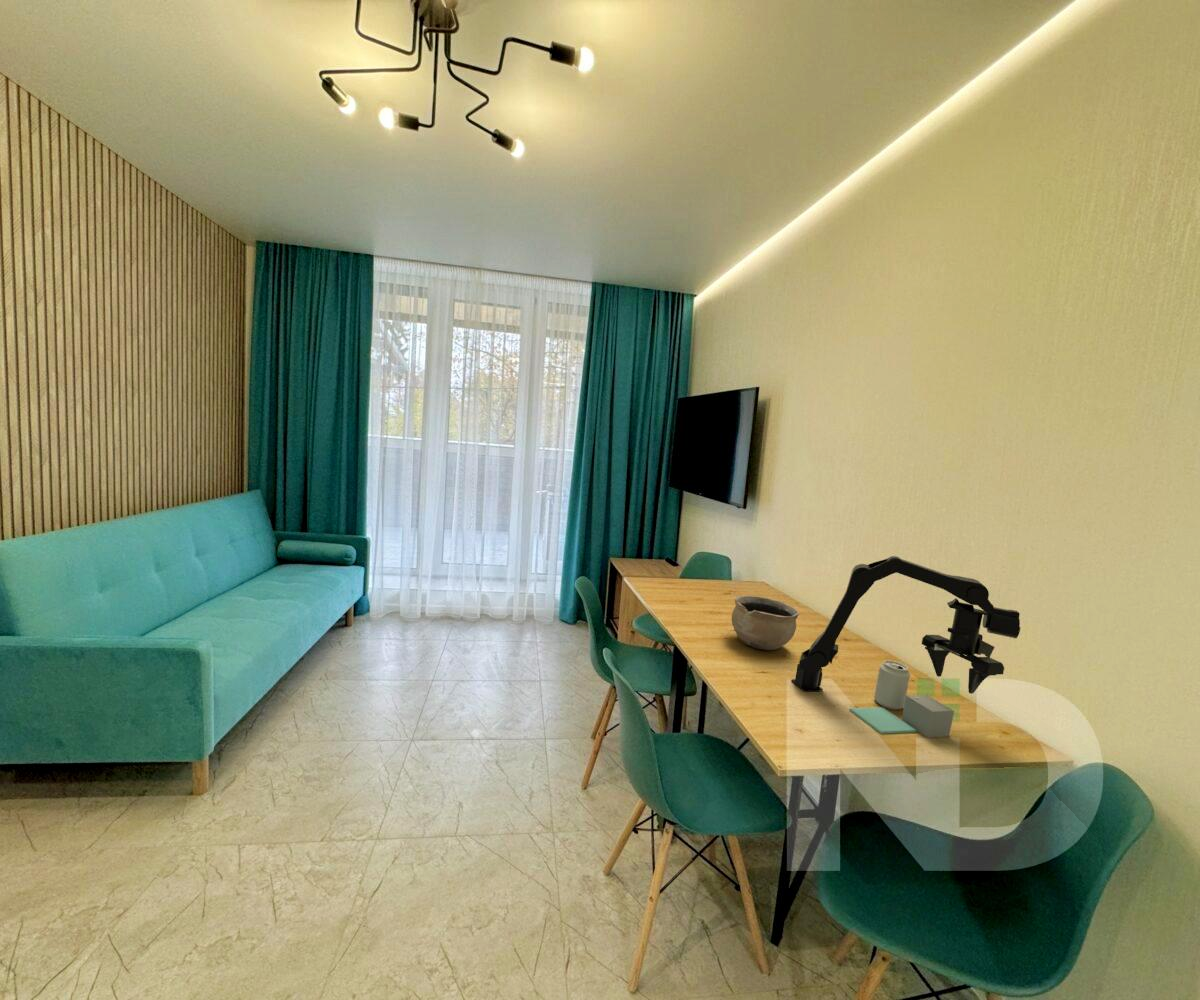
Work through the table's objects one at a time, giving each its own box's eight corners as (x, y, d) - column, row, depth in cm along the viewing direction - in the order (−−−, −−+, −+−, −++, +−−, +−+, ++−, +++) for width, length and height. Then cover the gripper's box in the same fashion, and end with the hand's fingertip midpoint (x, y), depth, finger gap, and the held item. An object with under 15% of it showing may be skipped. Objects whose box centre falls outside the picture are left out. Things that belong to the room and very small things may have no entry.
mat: (880, 733, 127) (881, 731, 127) (849, 710, 138) (849, 708, 138) (915, 732, 130) (916, 729, 130) (882, 709, 141) (882, 707, 141)
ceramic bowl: (715, 634, 185) (721, 594, 183) (761, 631, 194) (767, 593, 193) (758, 661, 165) (765, 616, 163) (806, 656, 174) (813, 613, 173)
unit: (927, 737, 128) (932, 710, 127) (901, 720, 136) (906, 694, 135) (950, 736, 130) (955, 710, 129) (923, 719, 138) (928, 694, 137)
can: (903, 714, 139) (911, 673, 138) (872, 704, 143) (880, 664, 142) (903, 704, 146) (911, 664, 144) (874, 695, 150) (881, 656, 148)
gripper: (1026, 642, 125) (1013, 702, 127) (956, 615, 143) (946, 668, 144) (992, 642, 122) (979, 703, 124) (925, 614, 140) (915, 668, 142)
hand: (954, 684), depth 133 cm, fingers open, 9 cm apart
